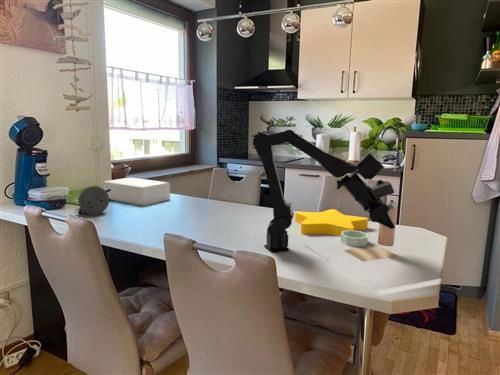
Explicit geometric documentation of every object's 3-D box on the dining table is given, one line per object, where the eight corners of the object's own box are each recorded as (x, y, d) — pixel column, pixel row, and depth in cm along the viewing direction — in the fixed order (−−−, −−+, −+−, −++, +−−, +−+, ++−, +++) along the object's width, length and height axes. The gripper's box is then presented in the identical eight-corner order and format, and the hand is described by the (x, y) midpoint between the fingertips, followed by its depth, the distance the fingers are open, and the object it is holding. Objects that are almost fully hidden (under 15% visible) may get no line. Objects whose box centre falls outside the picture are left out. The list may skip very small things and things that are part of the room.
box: (143, 206, 180) (143, 187, 178) (104, 199, 195) (103, 181, 193) (170, 200, 196) (169, 182, 194) (132, 193, 211) (131, 177, 209)
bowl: (351, 250, 121) (352, 239, 121) (335, 241, 130) (336, 231, 129) (372, 247, 125) (373, 236, 124) (356, 239, 133) (356, 229, 132)
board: (362, 264, 109) (363, 261, 109) (342, 253, 118) (343, 250, 118) (398, 258, 114) (398, 255, 114) (376, 248, 124) (377, 245, 123)
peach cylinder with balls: (385, 247, 112) (388, 205, 110) (374, 242, 117) (378, 202, 114) (396, 245, 114) (401, 204, 112) (386, 240, 118) (389, 201, 116)
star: (345, 208, 164) (385, 225, 137) (344, 217, 165) (384, 237, 138) (283, 212, 156) (314, 231, 128) (283, 221, 157) (313, 243, 129)
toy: (123, 204, 157) (113, 195, 183) (105, 179, 153) (98, 174, 179) (87, 227, 151) (82, 215, 177) (68, 203, 147) (66, 194, 173)
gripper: (385, 177, 103) (421, 216, 103) (373, 169, 121) (405, 203, 121) (354, 202, 105) (390, 241, 106) (348, 190, 124) (378, 224, 124)
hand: (391, 225), depth 114 cm, fingers closed on peach cylinder with balls, 5 cm apart
